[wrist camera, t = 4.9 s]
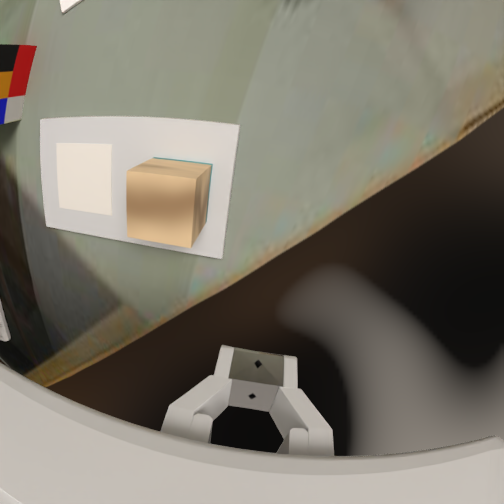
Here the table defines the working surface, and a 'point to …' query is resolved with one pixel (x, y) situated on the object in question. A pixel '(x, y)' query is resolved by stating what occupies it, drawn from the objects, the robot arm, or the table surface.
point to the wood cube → (167, 200)
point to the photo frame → (68, 4)
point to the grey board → (122, 159)
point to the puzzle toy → (14, 79)
